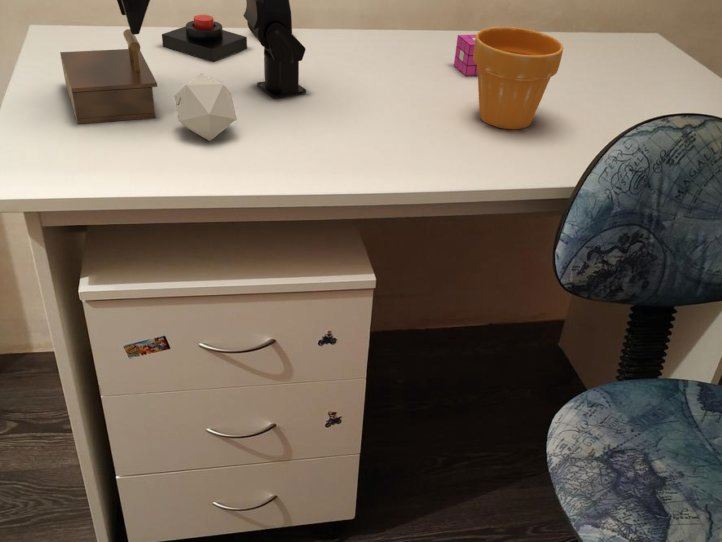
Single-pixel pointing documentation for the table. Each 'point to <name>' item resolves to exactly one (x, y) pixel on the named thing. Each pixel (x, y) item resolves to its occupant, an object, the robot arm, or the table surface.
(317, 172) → the table surface
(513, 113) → the flower pot
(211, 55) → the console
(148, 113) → the compartment
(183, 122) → the die
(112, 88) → the lid
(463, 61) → the puzzle toy
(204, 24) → the release button
